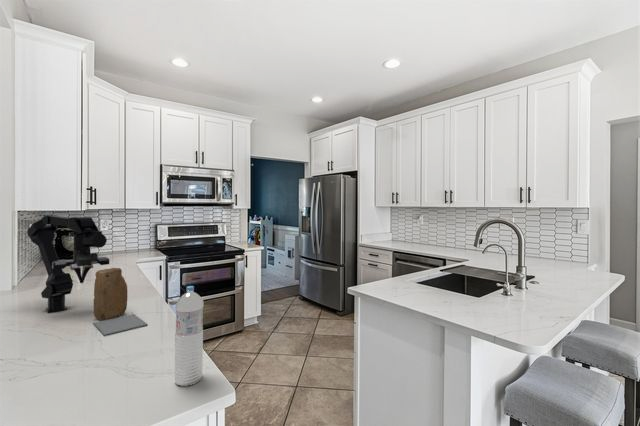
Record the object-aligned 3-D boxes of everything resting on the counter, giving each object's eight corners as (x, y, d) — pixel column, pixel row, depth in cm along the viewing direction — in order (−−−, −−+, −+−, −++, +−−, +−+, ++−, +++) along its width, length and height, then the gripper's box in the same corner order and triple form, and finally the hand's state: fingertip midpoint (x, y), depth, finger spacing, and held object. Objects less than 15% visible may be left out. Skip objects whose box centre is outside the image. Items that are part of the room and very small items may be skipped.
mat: (93, 324, 117) (93, 322, 117) (133, 315, 128) (133, 314, 128) (104, 336, 107) (104, 334, 107) (147, 325, 117) (147, 324, 117)
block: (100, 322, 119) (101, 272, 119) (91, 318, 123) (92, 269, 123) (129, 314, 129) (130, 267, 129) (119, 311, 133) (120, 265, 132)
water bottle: (180, 373, 84) (181, 283, 84) (205, 372, 84) (207, 283, 84) (170, 387, 77) (171, 290, 77) (197, 387, 78) (199, 290, 77)
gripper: (55, 250, 116) (54, 290, 116) (112, 246, 130) (112, 282, 130) (52, 247, 124) (51, 285, 124) (106, 244, 137) (106, 278, 138)
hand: (81, 283), depth 129 cm, fingers closed
